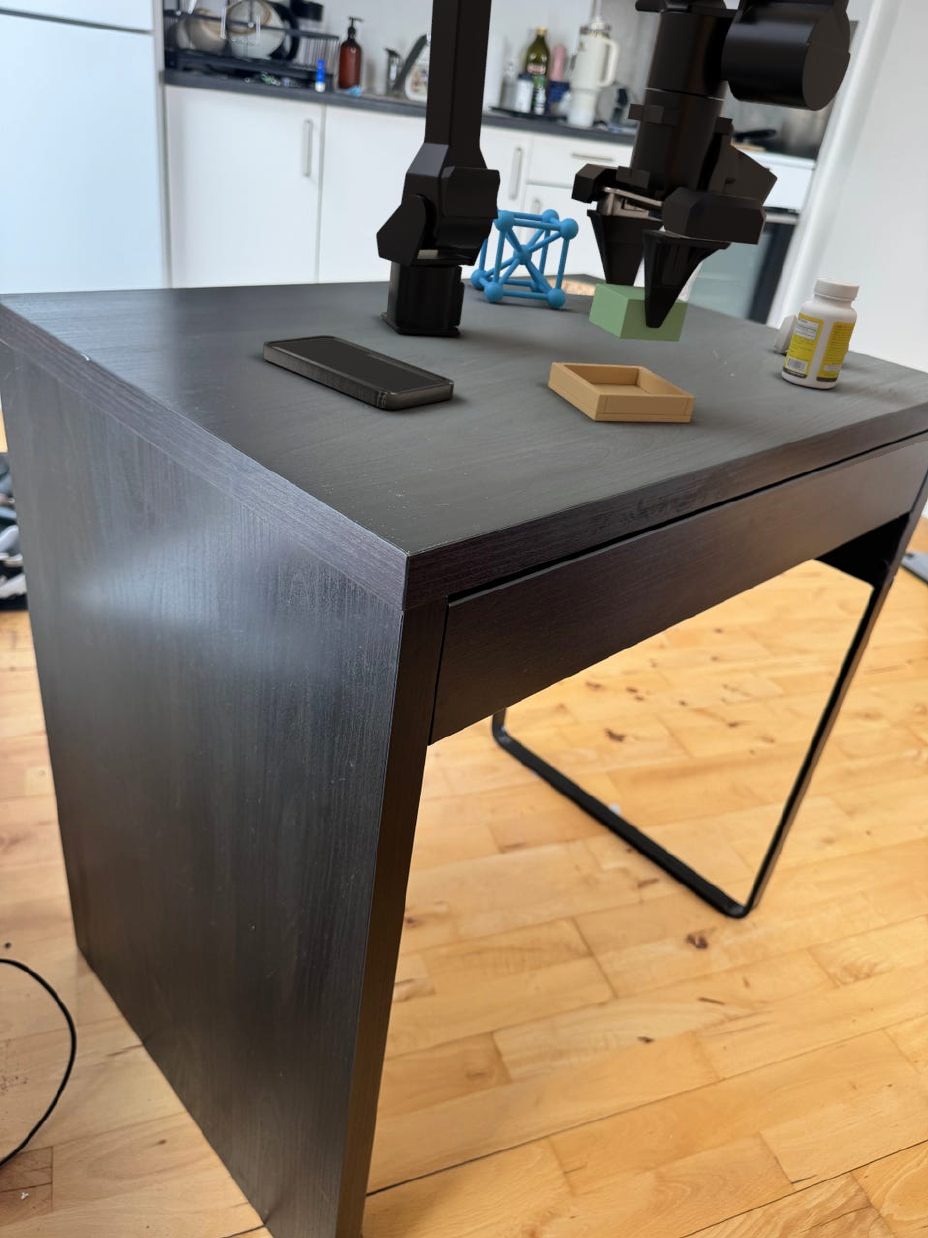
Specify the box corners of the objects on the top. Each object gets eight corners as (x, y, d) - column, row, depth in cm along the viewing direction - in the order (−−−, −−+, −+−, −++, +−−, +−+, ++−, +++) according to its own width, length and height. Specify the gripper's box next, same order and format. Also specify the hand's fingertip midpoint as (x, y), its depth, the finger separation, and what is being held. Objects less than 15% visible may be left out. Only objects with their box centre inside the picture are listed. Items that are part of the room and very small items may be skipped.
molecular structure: (566, 311, 109) (583, 220, 104) (485, 303, 106) (498, 209, 102) (543, 293, 117) (558, 208, 112) (467, 285, 115) (479, 198, 110)
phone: (388, 395, 66) (257, 341, 73) (387, 411, 66) (257, 355, 74) (461, 382, 71) (331, 333, 79) (459, 397, 72) (331, 346, 79)
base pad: (594, 420, 71) (599, 394, 70) (547, 386, 78) (552, 361, 77) (689, 422, 75) (696, 397, 74) (636, 389, 82) (642, 365, 80)
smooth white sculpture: (842, 374, 104) (838, 366, 100) (773, 355, 108) (766, 347, 103) (857, 336, 103) (854, 327, 99) (788, 318, 107) (781, 308, 102)
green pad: (619, 338, 71) (628, 298, 69) (588, 321, 75) (595, 282, 73) (679, 342, 72) (688, 302, 71) (645, 324, 77) (653, 287, 75)
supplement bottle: (833, 381, 95) (866, 283, 90) (834, 393, 90) (869, 290, 86) (780, 370, 96) (810, 272, 91) (779, 381, 92) (810, 279, 87)
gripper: (861, 119, 61) (789, 355, 69) (707, 102, 76) (661, 298, 83) (722, 95, 57) (661, 348, 65) (588, 82, 72) (551, 289, 79)
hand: (635, 318), depth 73 cm, fingers closed on green pad, 5 cm apart
